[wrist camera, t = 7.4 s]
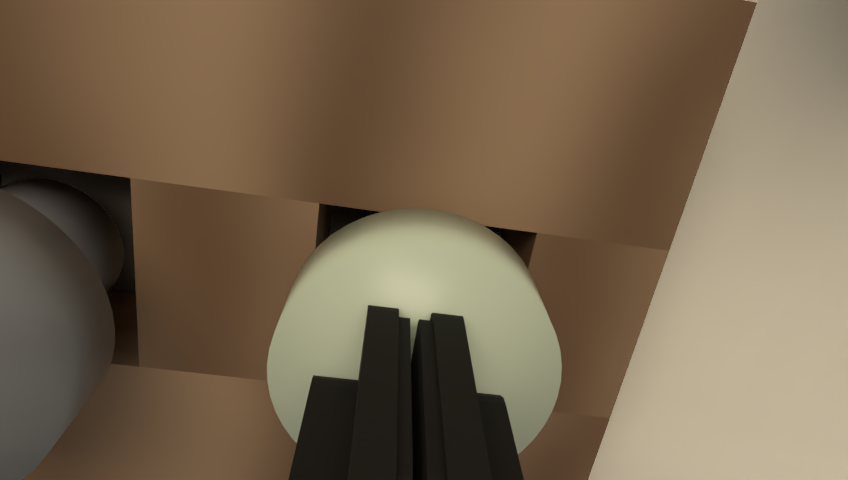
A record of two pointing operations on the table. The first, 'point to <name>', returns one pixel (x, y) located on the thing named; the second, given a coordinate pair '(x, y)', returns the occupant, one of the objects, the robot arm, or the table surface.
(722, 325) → the table surface
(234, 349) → the console
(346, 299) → the button sage
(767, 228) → the table surface
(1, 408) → the grey rounded lump
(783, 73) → the table surface
